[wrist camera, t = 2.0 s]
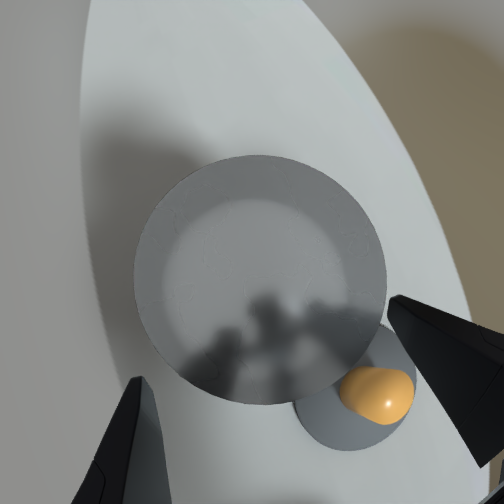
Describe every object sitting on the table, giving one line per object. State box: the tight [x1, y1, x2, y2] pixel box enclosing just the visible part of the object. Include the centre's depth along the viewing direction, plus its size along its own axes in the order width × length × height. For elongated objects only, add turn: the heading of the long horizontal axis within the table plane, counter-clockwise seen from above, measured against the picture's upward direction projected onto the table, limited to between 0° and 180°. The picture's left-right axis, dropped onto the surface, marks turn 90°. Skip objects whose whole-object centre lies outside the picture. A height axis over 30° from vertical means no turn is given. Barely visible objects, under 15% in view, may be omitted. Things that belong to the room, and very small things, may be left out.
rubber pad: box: [295, 325, 416, 451], centre depth 19 cm, size 9×9×1 cm
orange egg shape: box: [340, 366, 414, 425], centre depth 16 cm, size 3×3×4 cm
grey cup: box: [133, 155, 387, 405], centre depth 14 cm, size 7×7×12 cm
